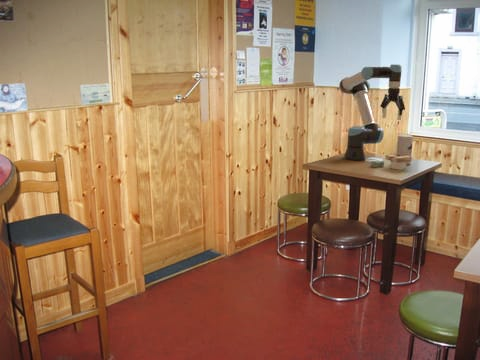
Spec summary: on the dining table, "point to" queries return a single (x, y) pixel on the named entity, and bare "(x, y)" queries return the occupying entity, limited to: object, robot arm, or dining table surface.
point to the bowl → (397, 165)
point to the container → (405, 145)
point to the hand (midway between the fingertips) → (391, 119)
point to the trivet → (377, 164)
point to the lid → (398, 158)
